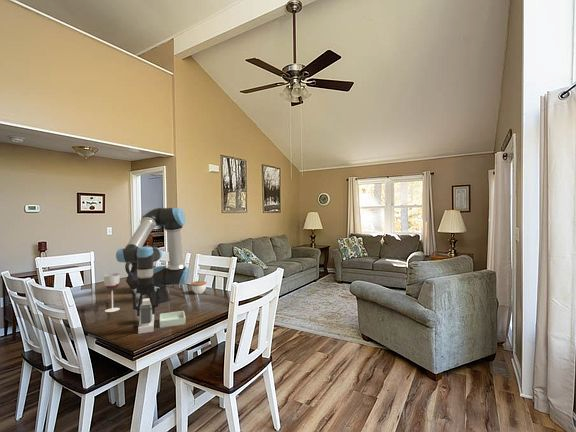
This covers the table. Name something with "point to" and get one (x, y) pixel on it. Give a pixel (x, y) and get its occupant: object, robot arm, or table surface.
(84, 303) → the table surface
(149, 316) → the black charger
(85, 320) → the table surface
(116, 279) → the wineglass
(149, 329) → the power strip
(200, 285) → the white round bowl
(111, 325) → the table surface
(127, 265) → the pitcher
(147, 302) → the white charger
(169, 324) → the tray
